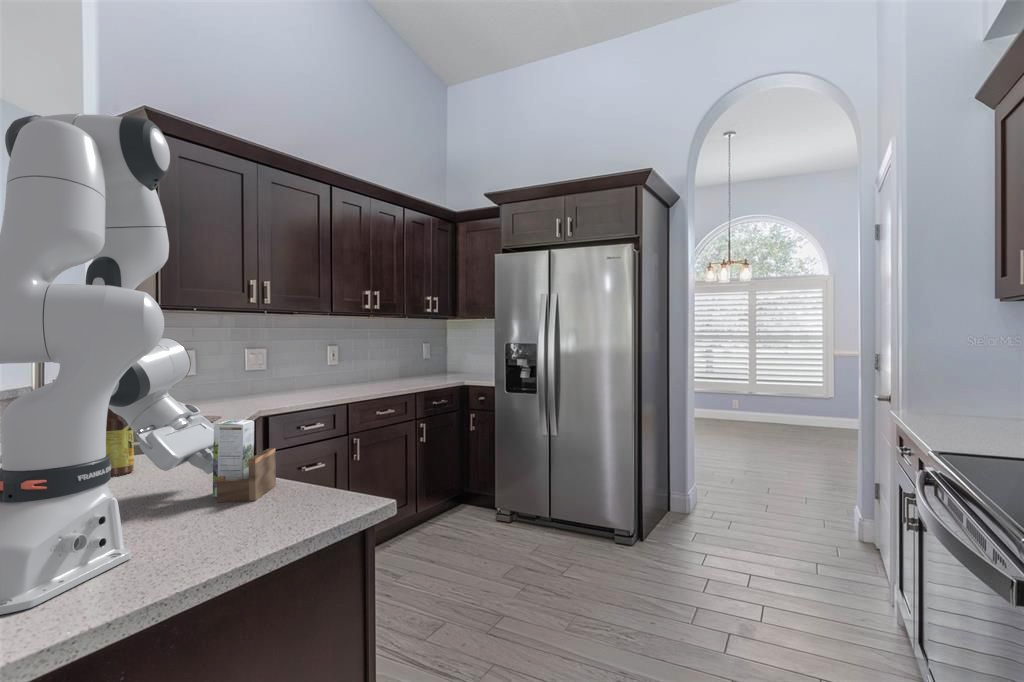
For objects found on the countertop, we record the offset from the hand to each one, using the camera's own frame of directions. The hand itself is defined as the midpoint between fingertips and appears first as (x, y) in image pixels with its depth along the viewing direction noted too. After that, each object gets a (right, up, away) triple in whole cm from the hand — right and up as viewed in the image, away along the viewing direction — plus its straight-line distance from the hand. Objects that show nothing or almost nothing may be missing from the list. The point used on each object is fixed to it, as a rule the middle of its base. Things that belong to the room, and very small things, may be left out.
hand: (215, 470), depth 107 cm
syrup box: (+3, -5, +1) cm, 6 cm away
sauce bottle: (-34, -6, +19) cm, 39 cm away
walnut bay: (+6, -5, 0) cm, 8 cm away
